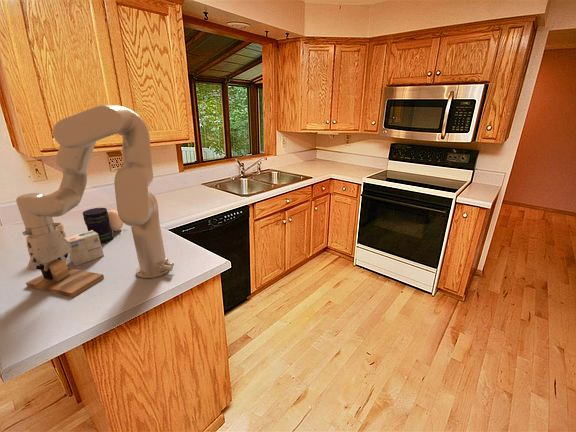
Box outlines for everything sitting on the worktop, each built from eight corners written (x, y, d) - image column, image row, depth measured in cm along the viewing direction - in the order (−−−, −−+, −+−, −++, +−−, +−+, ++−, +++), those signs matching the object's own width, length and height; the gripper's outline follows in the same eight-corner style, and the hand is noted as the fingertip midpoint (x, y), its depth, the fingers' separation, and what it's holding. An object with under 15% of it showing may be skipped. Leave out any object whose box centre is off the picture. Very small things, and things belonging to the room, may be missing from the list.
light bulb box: (98, 251, 127) (92, 229, 124) (104, 256, 123) (98, 233, 120) (70, 261, 120) (63, 237, 116) (75, 266, 116) (68, 241, 112)
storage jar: (94, 246, 132) (85, 216, 127) (87, 240, 138) (79, 211, 133) (117, 239, 139) (110, 210, 134) (110, 234, 145) (103, 206, 140)
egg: (123, 232, 147) (118, 211, 143) (105, 234, 145) (100, 213, 141) (126, 227, 154) (121, 206, 150) (109, 229, 152) (104, 208, 148)
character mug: (62, 257, 123) (53, 229, 118) (44, 259, 122) (34, 230, 117) (75, 246, 133) (68, 219, 128) (58, 247, 132) (50, 221, 127)
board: (104, 278, 107) (103, 274, 106) (73, 297, 96) (72, 293, 96) (60, 269, 113) (59, 266, 113) (27, 286, 102) (25, 282, 102)
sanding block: (70, 275, 106) (65, 260, 104) (57, 281, 102) (52, 266, 100) (56, 272, 108) (51, 258, 106) (43, 278, 104) (38, 264, 102)
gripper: (21, 240, 90) (39, 290, 96) (73, 221, 105) (85, 265, 112) (4, 237, 92) (23, 286, 99) (58, 219, 107) (71, 262, 114)
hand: (56, 274), depth 105 cm, fingers closed on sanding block, 4 cm apart
